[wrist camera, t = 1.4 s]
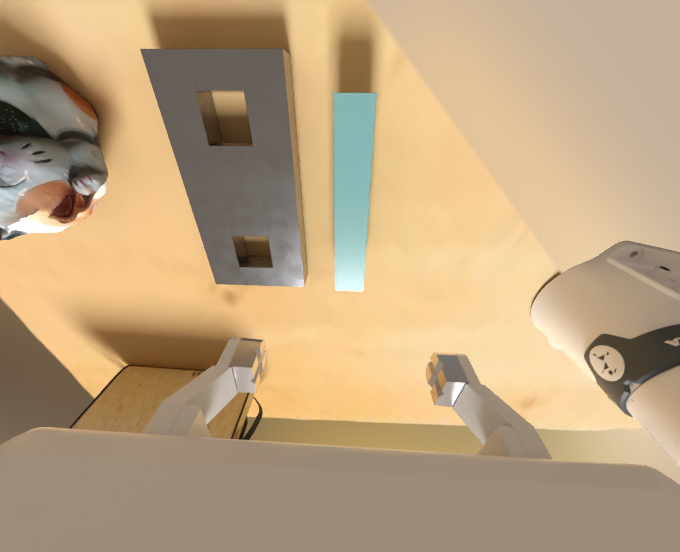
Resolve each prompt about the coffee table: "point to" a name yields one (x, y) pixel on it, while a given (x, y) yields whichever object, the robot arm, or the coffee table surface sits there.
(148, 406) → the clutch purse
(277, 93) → the hole plate
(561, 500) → the robot arm
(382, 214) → the coffee table surface
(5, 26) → the coffee table surface
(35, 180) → the lucky cat figurine
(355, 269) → the peg strip
